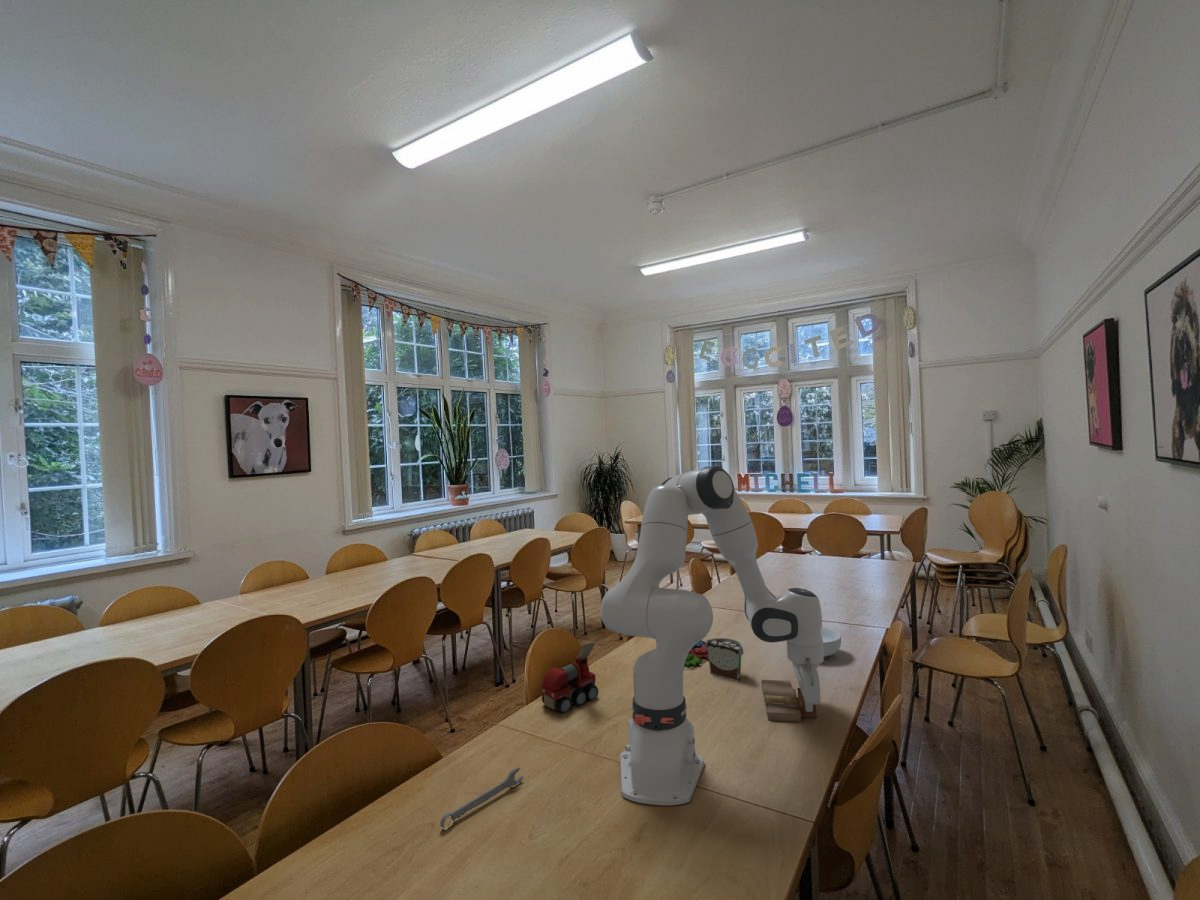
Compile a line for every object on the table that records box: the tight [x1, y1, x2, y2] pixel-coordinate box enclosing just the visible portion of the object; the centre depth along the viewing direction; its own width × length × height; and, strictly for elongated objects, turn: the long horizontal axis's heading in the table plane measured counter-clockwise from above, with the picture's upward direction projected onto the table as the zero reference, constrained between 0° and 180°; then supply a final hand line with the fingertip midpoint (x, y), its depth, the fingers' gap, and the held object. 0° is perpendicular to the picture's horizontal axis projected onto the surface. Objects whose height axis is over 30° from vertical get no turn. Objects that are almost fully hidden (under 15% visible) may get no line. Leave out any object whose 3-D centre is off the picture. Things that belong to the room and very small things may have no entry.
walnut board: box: [760, 679, 802, 723], centre depth 150 cm, size 20×8×2 cm, turn 168°
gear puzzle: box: [684, 639, 709, 670], centre depth 184 cm, size 31×16×4 cm, turn 139°
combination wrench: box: [440, 766, 524, 828], centre depth 112 cm, size 4×1×20 cm
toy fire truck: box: [541, 641, 599, 714], centre depth 155 cm, size 11×16×18 cm
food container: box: [705, 637, 745, 682], centre depth 170 cm, size 12×6×10 cm, turn 47°
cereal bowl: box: [821, 626, 842, 658], centre depth 183 cm, size 17×17×7 cm
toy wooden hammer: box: [763, 687, 817, 719], centre depth 144 cm, size 4×13×6 cm, turn 75°
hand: (807, 705), depth 143 cm, fingers closed on toy wooden hammer, 4 cm apart
